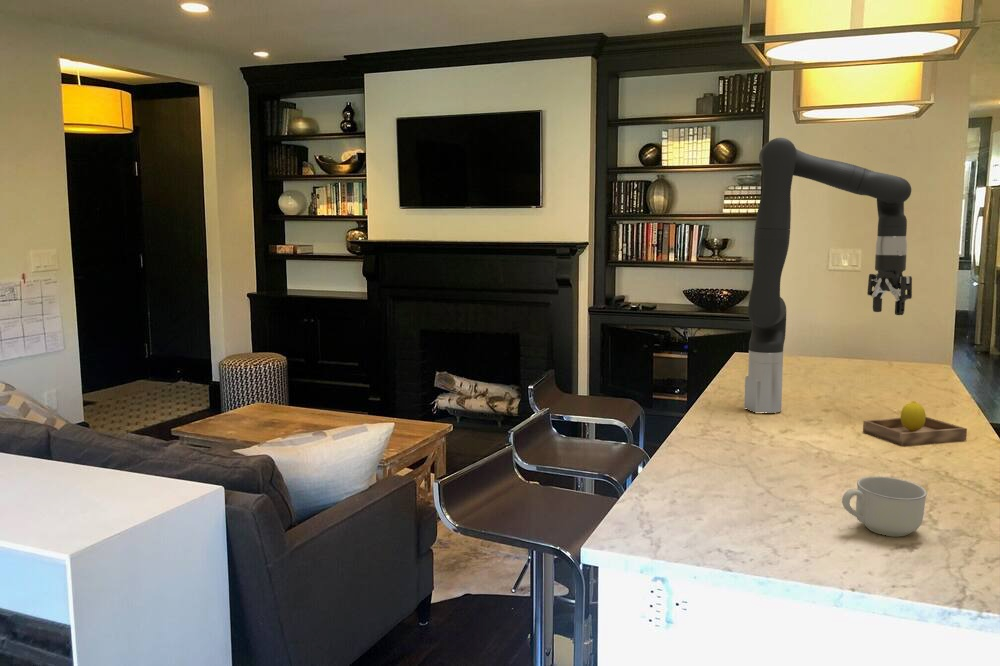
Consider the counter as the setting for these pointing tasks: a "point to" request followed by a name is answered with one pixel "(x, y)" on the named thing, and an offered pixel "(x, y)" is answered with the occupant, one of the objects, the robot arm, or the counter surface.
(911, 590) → the counter surface
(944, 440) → the tray
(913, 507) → the teacup
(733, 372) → the counter surface
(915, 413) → the lemon
